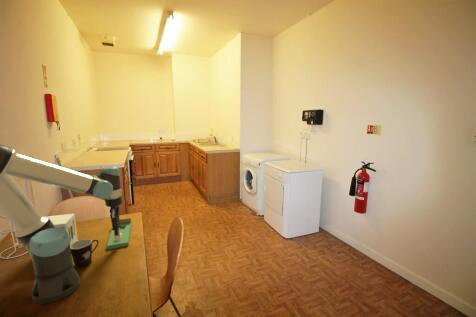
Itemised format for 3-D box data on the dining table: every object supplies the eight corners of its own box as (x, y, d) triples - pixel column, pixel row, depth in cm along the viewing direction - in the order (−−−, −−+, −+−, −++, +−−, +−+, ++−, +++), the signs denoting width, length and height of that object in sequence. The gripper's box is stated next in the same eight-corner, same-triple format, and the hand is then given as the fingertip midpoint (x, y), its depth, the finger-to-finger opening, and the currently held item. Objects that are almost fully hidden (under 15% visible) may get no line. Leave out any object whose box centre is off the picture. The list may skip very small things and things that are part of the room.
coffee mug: (73, 272, 103) (70, 251, 102) (71, 263, 110) (68, 243, 108) (103, 262, 111) (100, 242, 109) (99, 253, 117) (97, 235, 115)
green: (128, 245, 125) (127, 237, 124) (107, 249, 121) (106, 240, 120) (131, 225, 148) (130, 217, 148) (113, 227, 145) (112, 220, 144)
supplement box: (70, 257, 115) (65, 223, 112) (37, 262, 111) (31, 227, 108) (79, 243, 127) (75, 212, 124) (49, 247, 123) (45, 216, 120)
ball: (122, 239, 127) (121, 233, 126) (114, 240, 126) (114, 234, 125) (122, 236, 130) (122, 230, 130) (115, 237, 129) (115, 231, 128)
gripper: (120, 200, 114) (124, 245, 118) (122, 192, 126) (126, 233, 130) (102, 202, 112) (107, 248, 116) (107, 194, 124) (111, 235, 128)
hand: (117, 240), depth 123 cm, fingers closed
